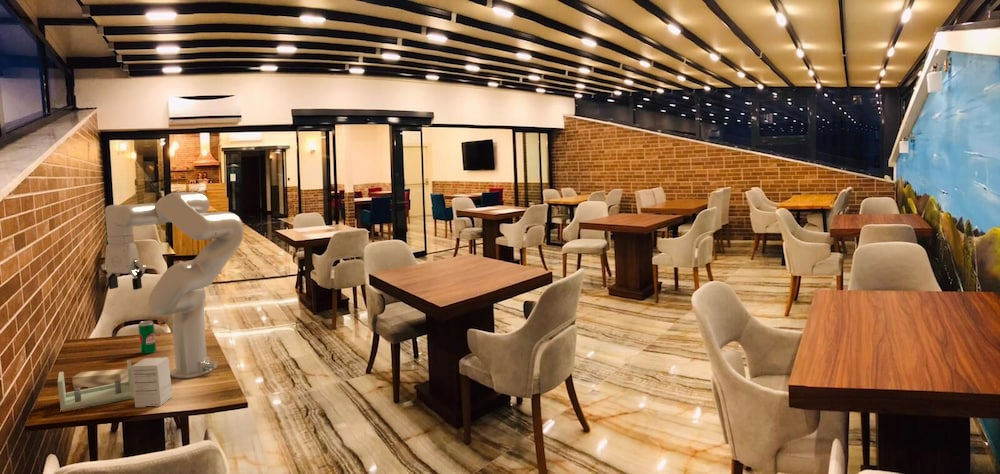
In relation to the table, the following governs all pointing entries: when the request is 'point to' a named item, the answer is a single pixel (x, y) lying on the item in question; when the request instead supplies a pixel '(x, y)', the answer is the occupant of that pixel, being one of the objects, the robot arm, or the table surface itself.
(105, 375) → the shelf board
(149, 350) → the soda can
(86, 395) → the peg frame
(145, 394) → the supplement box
